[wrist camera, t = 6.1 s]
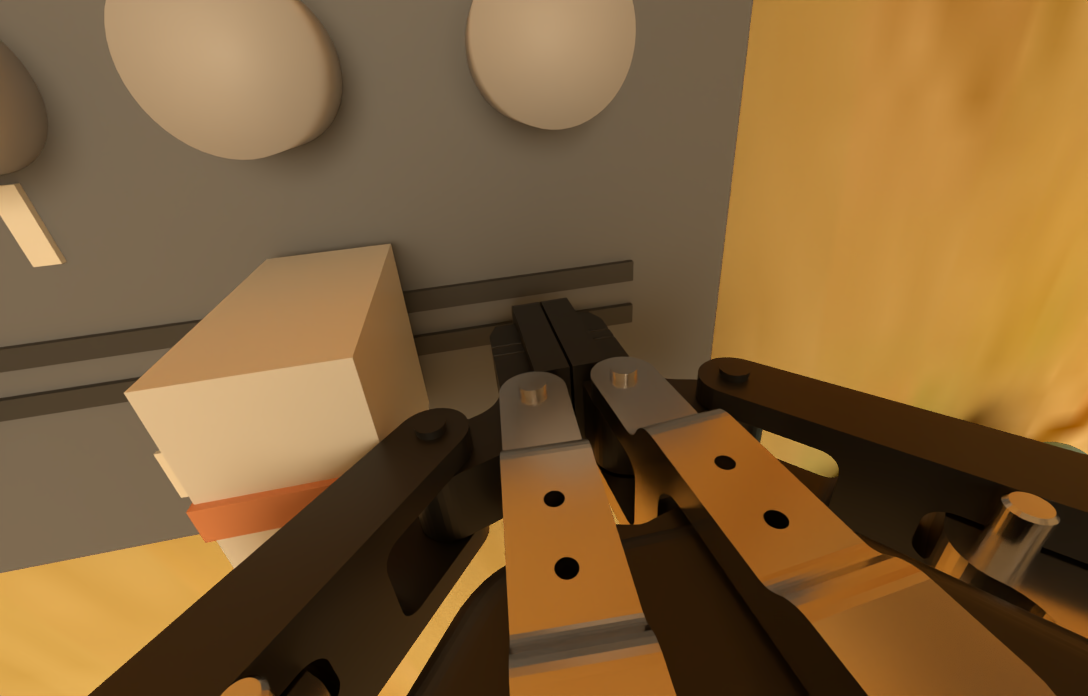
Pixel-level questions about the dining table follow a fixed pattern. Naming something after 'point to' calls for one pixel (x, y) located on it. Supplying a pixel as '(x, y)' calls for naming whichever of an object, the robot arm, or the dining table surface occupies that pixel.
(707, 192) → the console
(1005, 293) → the dining table surface
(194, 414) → the block
